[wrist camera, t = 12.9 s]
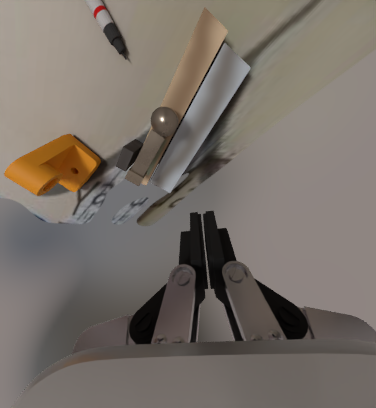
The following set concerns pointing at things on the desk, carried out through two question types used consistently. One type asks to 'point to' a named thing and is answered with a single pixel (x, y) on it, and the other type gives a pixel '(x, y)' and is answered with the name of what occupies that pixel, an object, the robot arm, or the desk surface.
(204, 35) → the doorframe
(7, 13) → the desk surface
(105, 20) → the marker
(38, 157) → the bracket
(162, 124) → the door handle
